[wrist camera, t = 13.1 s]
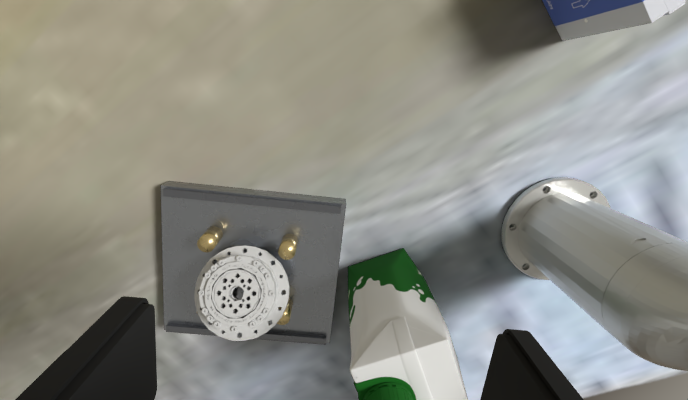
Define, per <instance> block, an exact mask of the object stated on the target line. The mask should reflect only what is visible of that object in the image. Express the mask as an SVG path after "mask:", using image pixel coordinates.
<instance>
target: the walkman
mask: <svg viewBox="0 0 688 400" xmlns="http://www.w3.org/2000/svg"><path fill="white" fill-rule="evenodd" d="M542 1H543V3H544V5H545V7H546V9H547V12H548V14H549V16H550V18H551V20H552V22H553V24H554V26H555V27H556V29H557V31H558V33H559V35H560V37H561V39H562V41H565V40H570V39H575V38H580V37H585V36H590V35H595V34H600V33H604V32H609V31H614V30H619V29H624V28H629V27H634V26H639V25H644V24H648V23H652V22H654V21H655V20H657V19H658V18H660V17H661V16H663V15H668V14H670V13H672V12H673V11H675V10H676V9H678V8H679V7H681V6H682V5H684V4H685V1H686V0H542Z"/></svg>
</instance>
